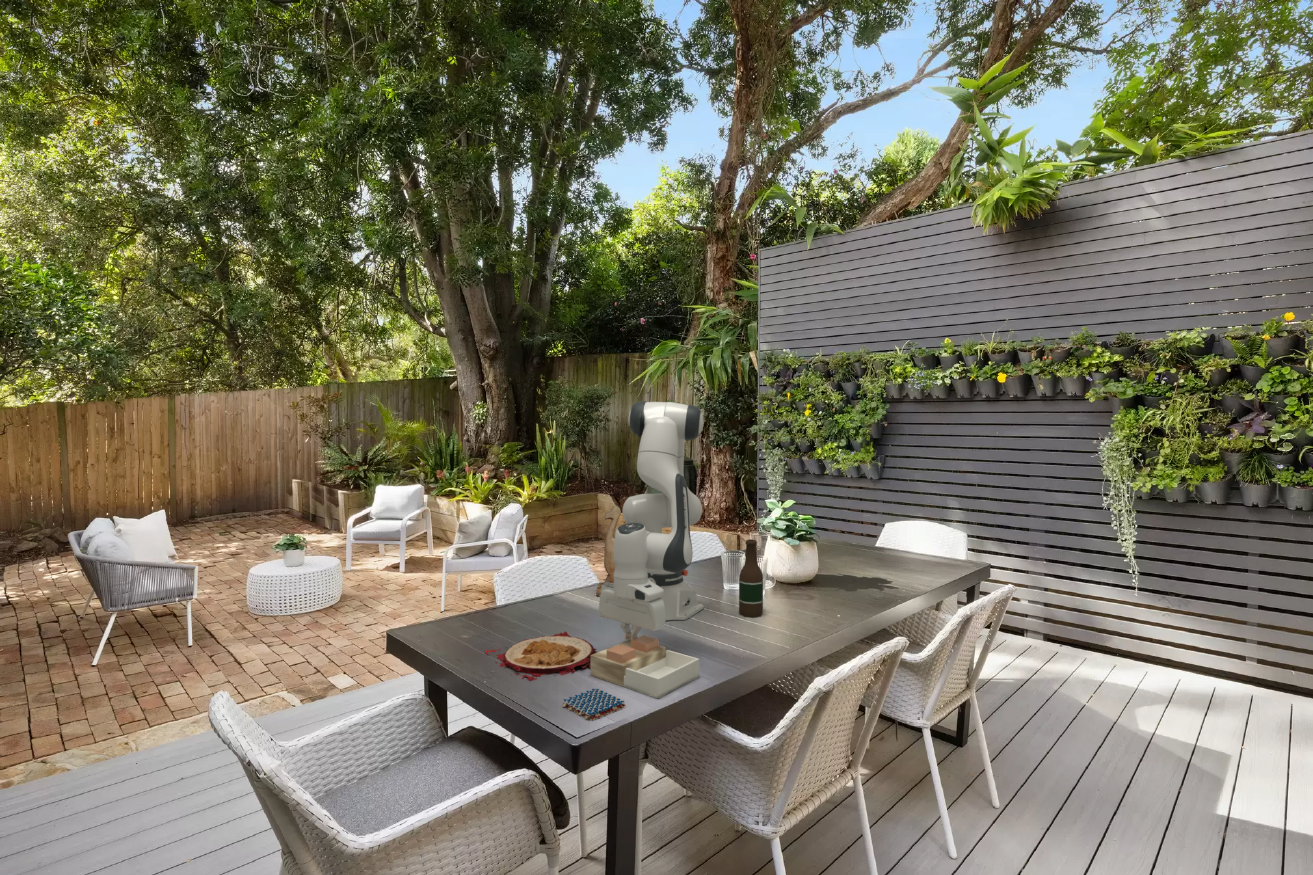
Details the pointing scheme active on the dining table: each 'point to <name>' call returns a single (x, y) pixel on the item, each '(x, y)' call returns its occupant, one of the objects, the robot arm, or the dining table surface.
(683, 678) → the box
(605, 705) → the woven mat
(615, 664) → the wooden box sleeve
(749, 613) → the beer bottle
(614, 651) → the terracotta tile
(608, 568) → the bird sculpture
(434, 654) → the dining table surface
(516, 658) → the plate with food
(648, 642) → the terracotta tile
